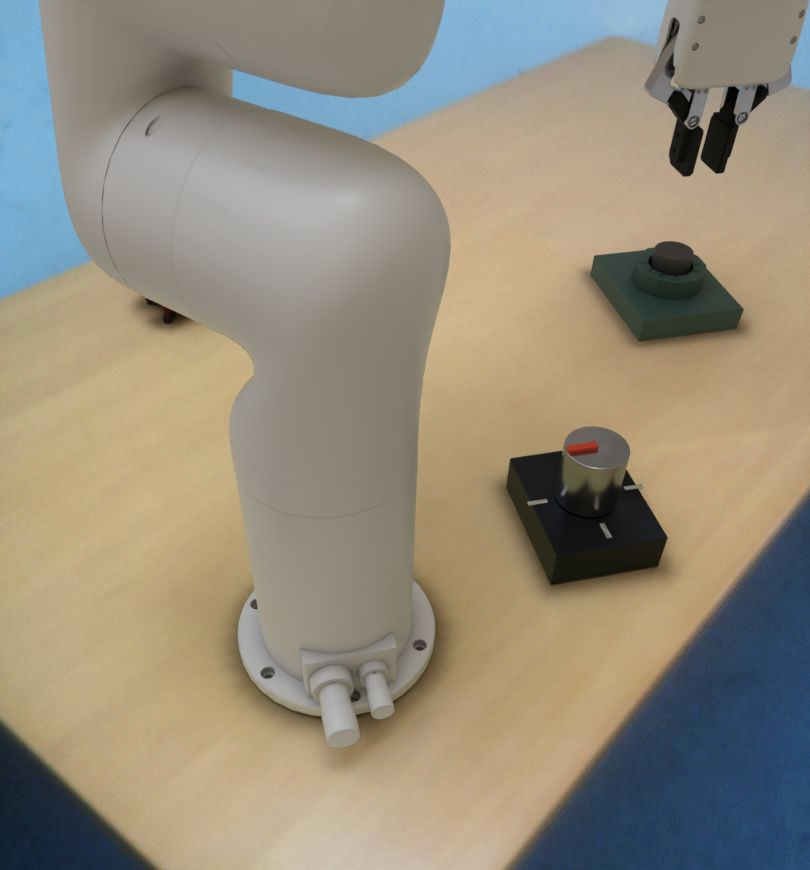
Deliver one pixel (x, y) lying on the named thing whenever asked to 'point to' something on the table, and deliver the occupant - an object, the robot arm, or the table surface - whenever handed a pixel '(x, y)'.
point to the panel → (582, 525)
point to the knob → (591, 471)
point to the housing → (664, 296)
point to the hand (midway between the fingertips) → (696, 166)
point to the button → (672, 258)
